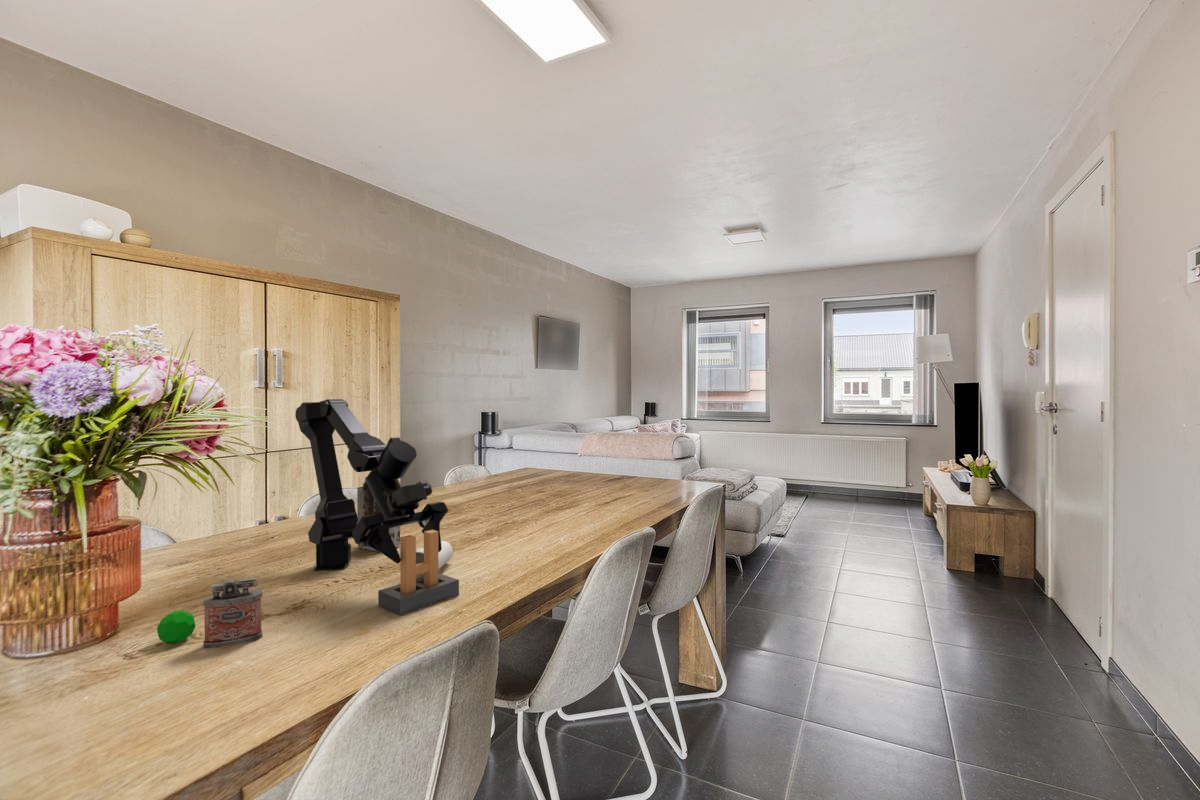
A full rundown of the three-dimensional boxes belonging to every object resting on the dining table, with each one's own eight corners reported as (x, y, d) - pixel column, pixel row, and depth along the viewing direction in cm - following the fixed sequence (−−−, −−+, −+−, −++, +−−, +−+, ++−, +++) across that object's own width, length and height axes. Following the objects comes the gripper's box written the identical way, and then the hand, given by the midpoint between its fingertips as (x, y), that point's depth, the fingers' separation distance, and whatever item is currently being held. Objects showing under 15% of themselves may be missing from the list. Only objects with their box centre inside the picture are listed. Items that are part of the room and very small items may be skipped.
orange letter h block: (406, 607, 104) (406, 538, 104) (400, 604, 105) (400, 537, 105) (438, 596, 109) (438, 531, 109) (432, 593, 111) (432, 529, 110)
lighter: (201, 651, 86) (201, 587, 86) (205, 642, 89) (204, 581, 89) (261, 640, 90) (261, 579, 90) (263, 632, 93) (263, 573, 93)
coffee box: (401, 546, 144) (401, 485, 144) (382, 553, 138) (382, 489, 138) (376, 542, 148) (376, 482, 148) (356, 548, 142) (356, 486, 142)
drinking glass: (457, 564, 130) (433, 582, 116) (430, 566, 131) (402, 584, 116) (455, 536, 131) (431, 549, 116) (428, 537, 131) (400, 552, 116)
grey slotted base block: (400, 615, 100) (400, 599, 100) (378, 606, 104) (378, 590, 104) (458, 594, 110) (458, 579, 110) (436, 586, 115) (436, 572, 115)
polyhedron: (179, 648, 87) (179, 618, 87) (149, 648, 87) (148, 618, 87) (202, 634, 92) (202, 606, 92) (173, 634, 92) (173, 606, 92)
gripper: (360, 473, 102) (393, 542, 96) (443, 463, 117) (477, 522, 111) (338, 509, 107) (369, 577, 101) (421, 495, 122) (452, 554, 116)
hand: (420, 556), depth 107 cm, fingers open, 9 cm apart
